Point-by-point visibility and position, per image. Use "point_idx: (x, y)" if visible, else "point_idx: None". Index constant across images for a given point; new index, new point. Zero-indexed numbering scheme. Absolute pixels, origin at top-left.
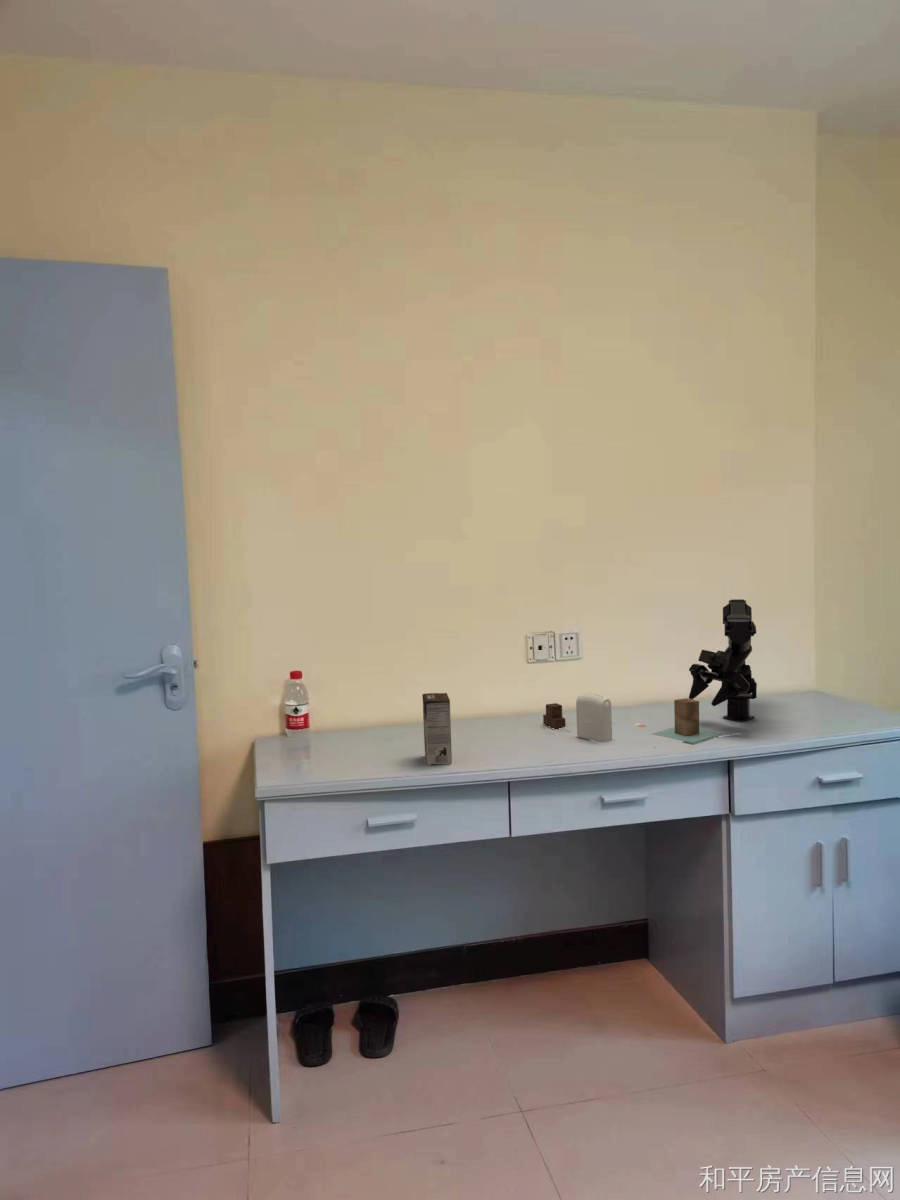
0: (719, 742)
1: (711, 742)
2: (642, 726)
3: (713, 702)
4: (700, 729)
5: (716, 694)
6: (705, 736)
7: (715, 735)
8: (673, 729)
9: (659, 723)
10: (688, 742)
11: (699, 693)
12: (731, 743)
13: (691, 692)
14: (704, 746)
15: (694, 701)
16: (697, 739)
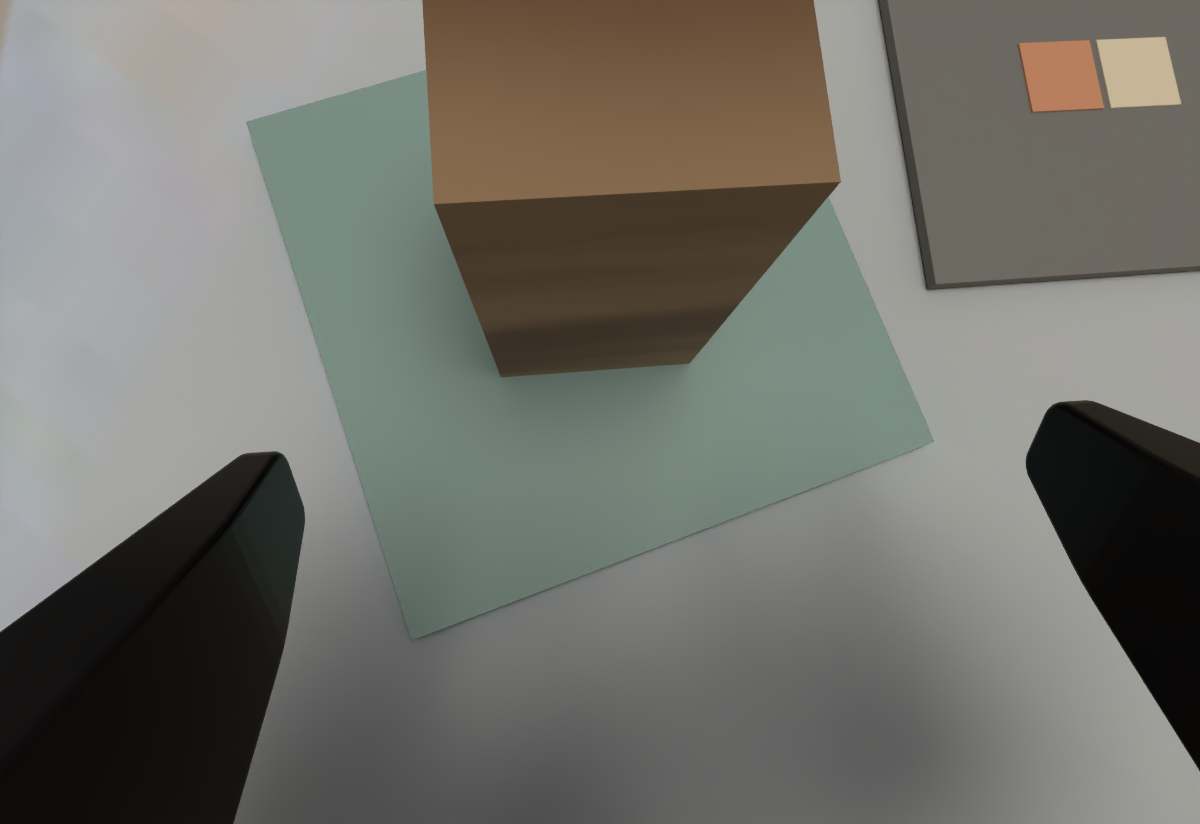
0: (186, 418)
1: (230, 343)
2: (1036, 63)
3: (213, 482)
4: (681, 521)
5: (111, 632)
6: (390, 381)
7: (374, 509)
8: (802, 258)
9: (1152, 332)
10: (306, 111)
11: (1189, 739)
12: (82, 508)
13: (1190, 464)
14: (139, 188)
15: (455, 96)
16: (326, 231)
